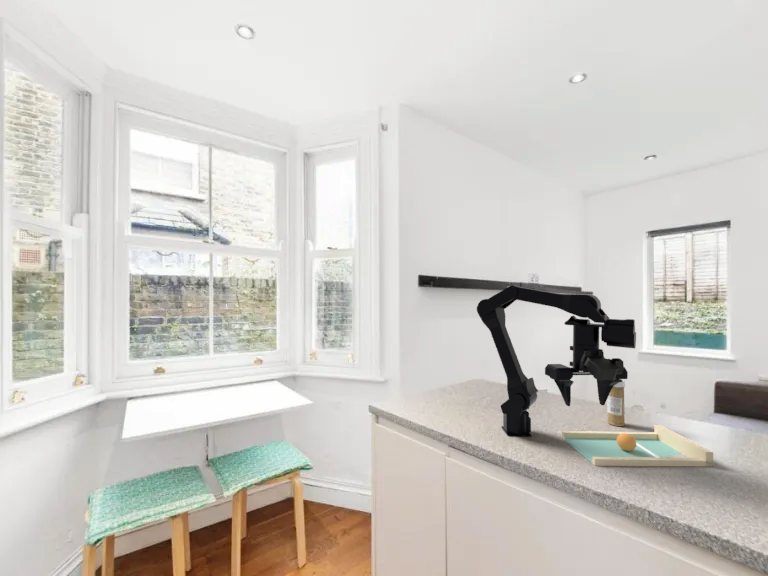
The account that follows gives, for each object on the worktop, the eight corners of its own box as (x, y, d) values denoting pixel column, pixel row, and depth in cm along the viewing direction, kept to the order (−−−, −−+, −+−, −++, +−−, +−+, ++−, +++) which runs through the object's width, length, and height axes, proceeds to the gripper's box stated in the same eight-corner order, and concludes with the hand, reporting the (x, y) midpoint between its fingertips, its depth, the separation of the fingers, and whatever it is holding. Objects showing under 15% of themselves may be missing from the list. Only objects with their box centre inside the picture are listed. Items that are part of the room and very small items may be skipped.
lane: (594, 467, 80) (594, 450, 80) (562, 438, 95) (562, 423, 95) (713, 470, 79) (713, 452, 79) (660, 439, 94) (660, 425, 95)
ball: (623, 453, 85) (623, 437, 85) (613, 446, 89) (613, 430, 89) (640, 454, 85) (640, 437, 85) (629, 446, 89) (629, 430, 89)
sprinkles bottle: (627, 424, 105) (627, 379, 105) (620, 428, 103) (620, 381, 103) (611, 420, 109) (610, 376, 109) (603, 423, 106) (603, 378, 106)
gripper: (571, 349, 80) (570, 418, 80) (646, 349, 82) (645, 416, 82) (544, 342, 91) (543, 402, 91) (611, 341, 93) (610, 400, 93)
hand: (585, 405), depth 89 cm, fingers open, 9 cm apart
